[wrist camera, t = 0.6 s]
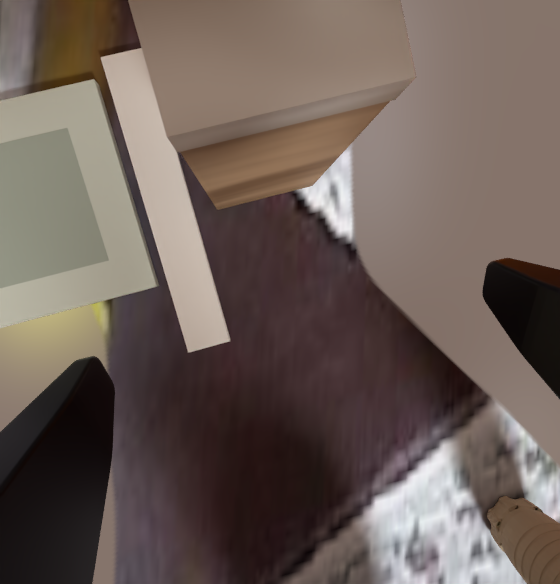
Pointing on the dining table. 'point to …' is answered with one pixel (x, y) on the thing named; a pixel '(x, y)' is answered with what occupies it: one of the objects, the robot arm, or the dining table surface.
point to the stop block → (270, 84)
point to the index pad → (65, 207)
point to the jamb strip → (166, 201)
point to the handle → (527, 539)
